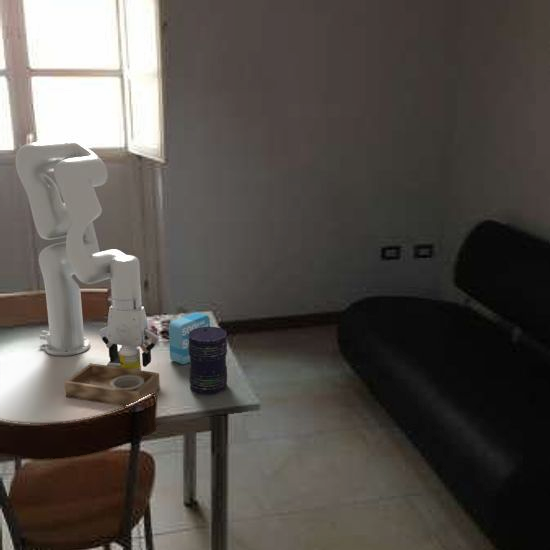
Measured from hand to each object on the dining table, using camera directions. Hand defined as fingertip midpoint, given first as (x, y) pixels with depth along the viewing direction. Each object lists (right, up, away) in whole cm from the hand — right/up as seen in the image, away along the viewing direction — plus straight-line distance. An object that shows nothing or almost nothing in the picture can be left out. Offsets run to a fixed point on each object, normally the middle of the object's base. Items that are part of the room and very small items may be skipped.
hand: (130, 362), depth 178 cm
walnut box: (-2, -6, -9) cm, 12 cm away
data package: (+15, 0, +12) cm, 19 cm away
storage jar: (+22, -6, -6) cm, 23 cm away
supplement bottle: (0, -3, +1) cm, 4 cm away
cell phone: (-4, -1, +9) cm, 10 cm away
